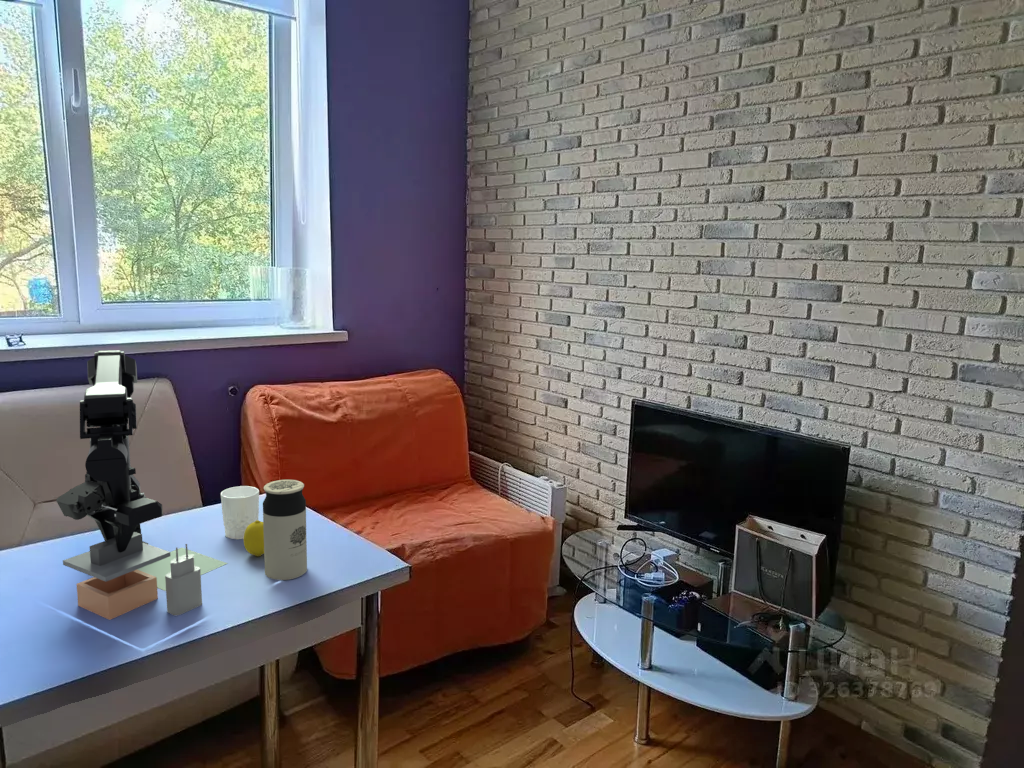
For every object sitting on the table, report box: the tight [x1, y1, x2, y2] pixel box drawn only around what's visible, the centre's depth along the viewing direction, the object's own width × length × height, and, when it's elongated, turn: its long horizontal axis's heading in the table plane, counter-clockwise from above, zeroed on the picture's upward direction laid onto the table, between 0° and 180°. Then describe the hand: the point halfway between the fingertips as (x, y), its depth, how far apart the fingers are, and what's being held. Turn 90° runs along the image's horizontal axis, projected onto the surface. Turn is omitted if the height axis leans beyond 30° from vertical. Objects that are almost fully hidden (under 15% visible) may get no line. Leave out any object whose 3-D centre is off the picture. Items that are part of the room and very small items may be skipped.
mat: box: [137, 547, 229, 592], centre depth 142 cm, size 14×14×1 cm
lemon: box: [243, 519, 264, 558], centre depth 148 cm, size 6×6×8 cm
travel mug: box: [262, 479, 308, 581], centre depth 141 cm, size 8×8×18 cm
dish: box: [75, 570, 159, 621], centre depth 128 cm, size 9×9×4 cm
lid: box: [62, 532, 171, 582], centre depth 127 cm, size 12×12×4 cm
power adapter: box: [165, 543, 203, 617], centre depth 126 cm, size 3×5×12 cm, turn 149°
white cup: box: [220, 485, 260, 540], centre depth 159 cm, size 8×8×10 cm
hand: (116, 549), depth 127 cm, fingers closed on lid, 2 cm apart
